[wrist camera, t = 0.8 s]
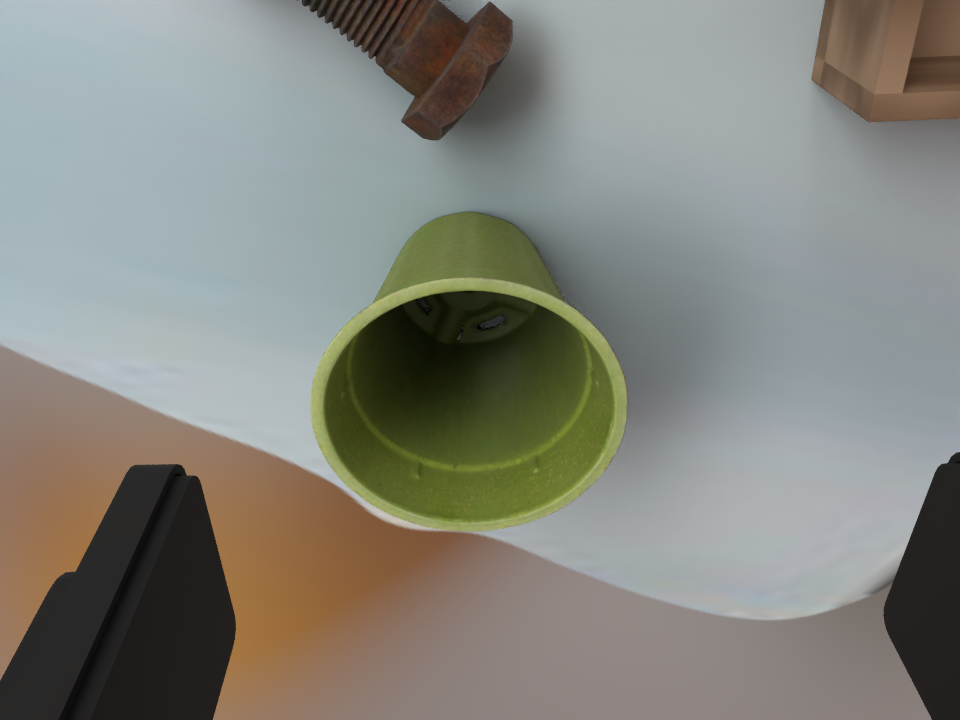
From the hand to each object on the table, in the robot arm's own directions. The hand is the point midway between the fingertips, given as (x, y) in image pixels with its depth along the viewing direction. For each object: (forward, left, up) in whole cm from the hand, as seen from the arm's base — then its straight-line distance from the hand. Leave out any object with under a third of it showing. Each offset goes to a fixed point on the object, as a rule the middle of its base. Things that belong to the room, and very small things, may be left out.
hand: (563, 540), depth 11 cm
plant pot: (+11, -2, -29) cm, 31 cm away
